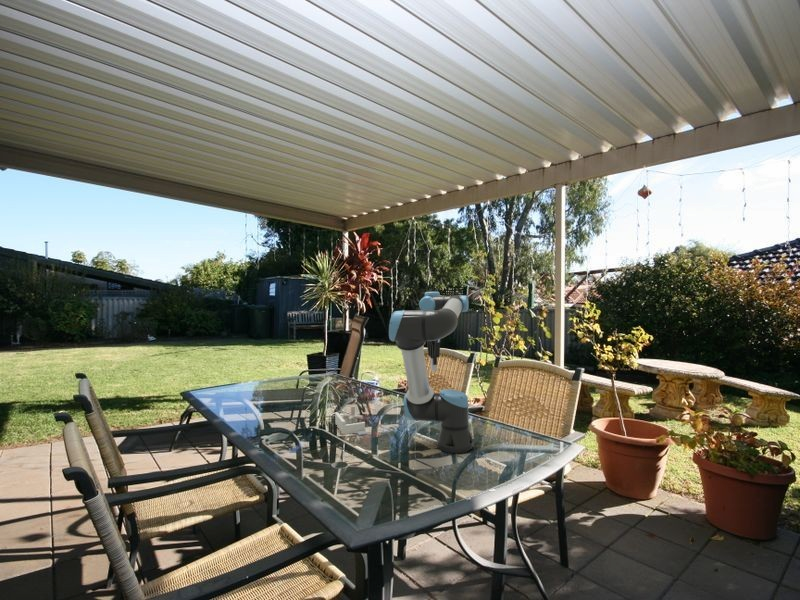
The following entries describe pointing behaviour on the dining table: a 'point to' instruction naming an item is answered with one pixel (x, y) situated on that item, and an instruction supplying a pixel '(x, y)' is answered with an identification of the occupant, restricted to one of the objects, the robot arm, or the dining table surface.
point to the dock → (349, 425)
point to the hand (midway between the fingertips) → (434, 371)
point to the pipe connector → (353, 415)
